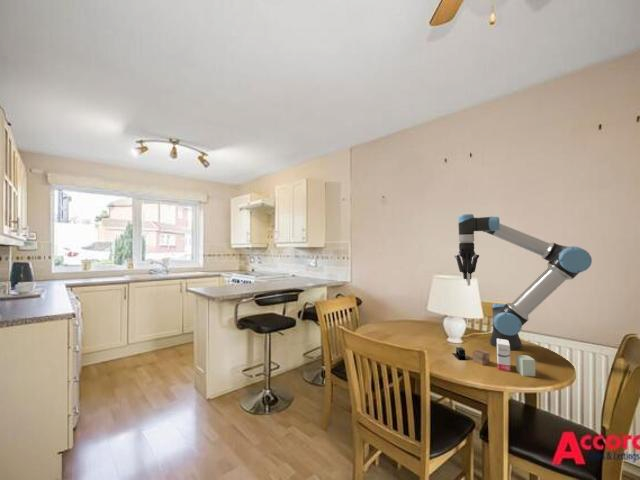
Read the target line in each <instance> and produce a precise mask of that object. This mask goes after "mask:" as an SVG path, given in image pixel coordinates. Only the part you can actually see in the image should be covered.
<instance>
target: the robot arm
mask: <svg viewBox="0 0 640 480" xmlns="http://www.w3.org/2000/svg"><path fill="white" fill-rule="evenodd" d="M457 226H458V242H459V243H458V249H459V251H458V254H455V255H454V258H455V259H456V261H457V265H458V267H457V268H458V270H459V272H460V273H462V275H463V277H462V278H463V279H464V280H465V279H466V282H467V285H466V286H468V287H469V286H471V280H472V274H473V273H475V272H476V268H477V263H478V259H479V258H480V254H477V253H476V252H475V232H483V233H487V234H489V235H492V236H493V237H496V238H499V239H500V240H503V241H506V242H508V243H510V244H513V245H515V246H517V247H520V248H522V249H523V250H524V249H525V250H526V251H529V252H532V253H533V254H536V255H538V256H540V257H541V258H542V260H545V261H547V268H546V269H545V270H544V271H543V272H542V273H541V274H540V275H538V277H537V278H536V279H535V280H534V281H533V282H532V283H531V284H530V285H529V286H528V287H527V288H526V289H525V290H523V291H522V293H521V294H519V295H518V297H516V299H515V300H513V301H512V302H506V303H493V304H492V307H491V309H492V331H491V335H490V338H489V345H491V346H493V347H495V348H497V339H504V340H508V341H509V344H510V351H517V350H522V348H523V343H522V340H521V338H520V336H519V333H520V331H521V330H522V327H523V326H524V325H525V324H526V323H528V321H529V320H530V319H529V316H530V314H532V312H534V310H535V309H537V308H538V307H539V306H540V305H541V304H542V303H543V302H544V301H545V300H546V299H547V298H548V297H550V295H552V294H553V293H554V292H555V291H556V290H557V289H559V287H560V286H561V285H562V284H563V283H564V282H566V281H567V280H574V278H576V277H577V275H579V274H580V273H583V272H585V271H587V270H588V269H590V267H591V266H592V263H593V262H592V260H593V259H592V256H591V254H590V252H588V251H587V250H586V249H584V248H582V247H579V246H566V245H562V244H557V243H555V242H547V241H545V240H543V239H540V238H538V237H536V236H532V235H530V234H527V233H525V232H523V231H520V230H517V229H515V228H512V227H509V226H507V225H505V224H502V223H500V217H499V216H484V217H482V216H481V217H475V216H474V214H473V213H467V214H466V213H465V214H459V216H458V225H457Z"/></svg>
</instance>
